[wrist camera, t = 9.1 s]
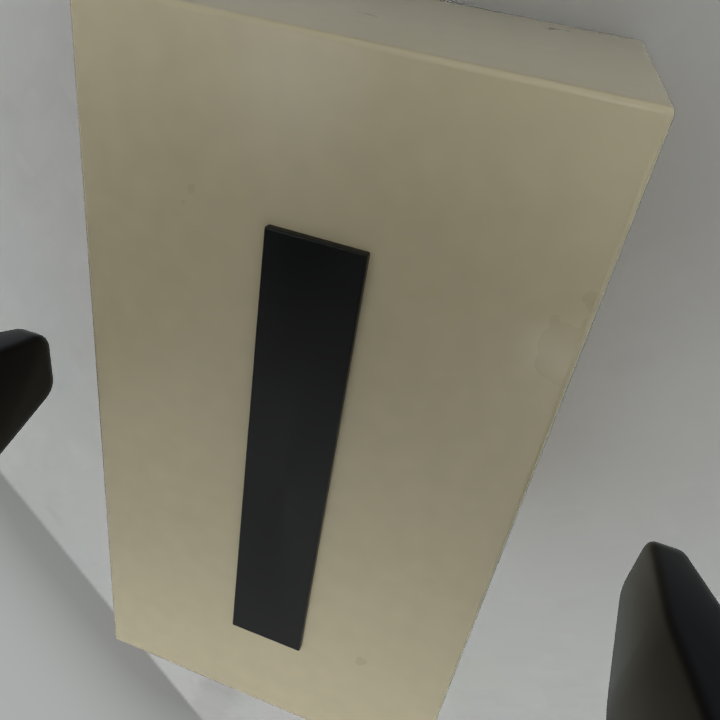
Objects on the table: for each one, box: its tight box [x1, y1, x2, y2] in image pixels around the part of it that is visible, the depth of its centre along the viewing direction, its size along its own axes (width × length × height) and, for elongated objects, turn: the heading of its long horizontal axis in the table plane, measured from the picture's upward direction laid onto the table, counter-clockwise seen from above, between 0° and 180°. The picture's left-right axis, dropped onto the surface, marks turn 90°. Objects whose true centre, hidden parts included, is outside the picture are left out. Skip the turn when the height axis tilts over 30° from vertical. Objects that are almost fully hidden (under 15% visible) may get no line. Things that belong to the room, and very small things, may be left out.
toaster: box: [70, 0, 674, 720], centre depth 12 cm, size 6×11×7 cm, turn 171°
